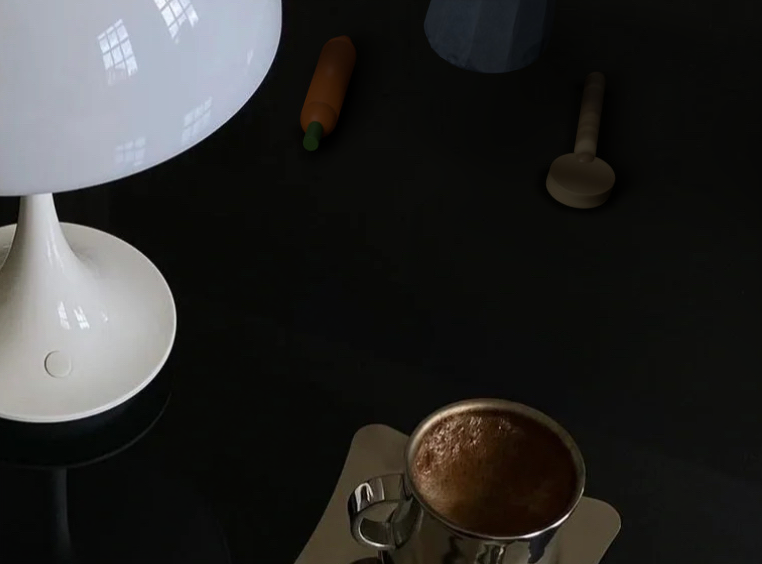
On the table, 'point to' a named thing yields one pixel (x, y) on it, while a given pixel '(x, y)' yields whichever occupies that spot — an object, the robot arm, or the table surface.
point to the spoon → (584, 156)
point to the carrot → (327, 90)
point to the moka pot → (490, 32)
